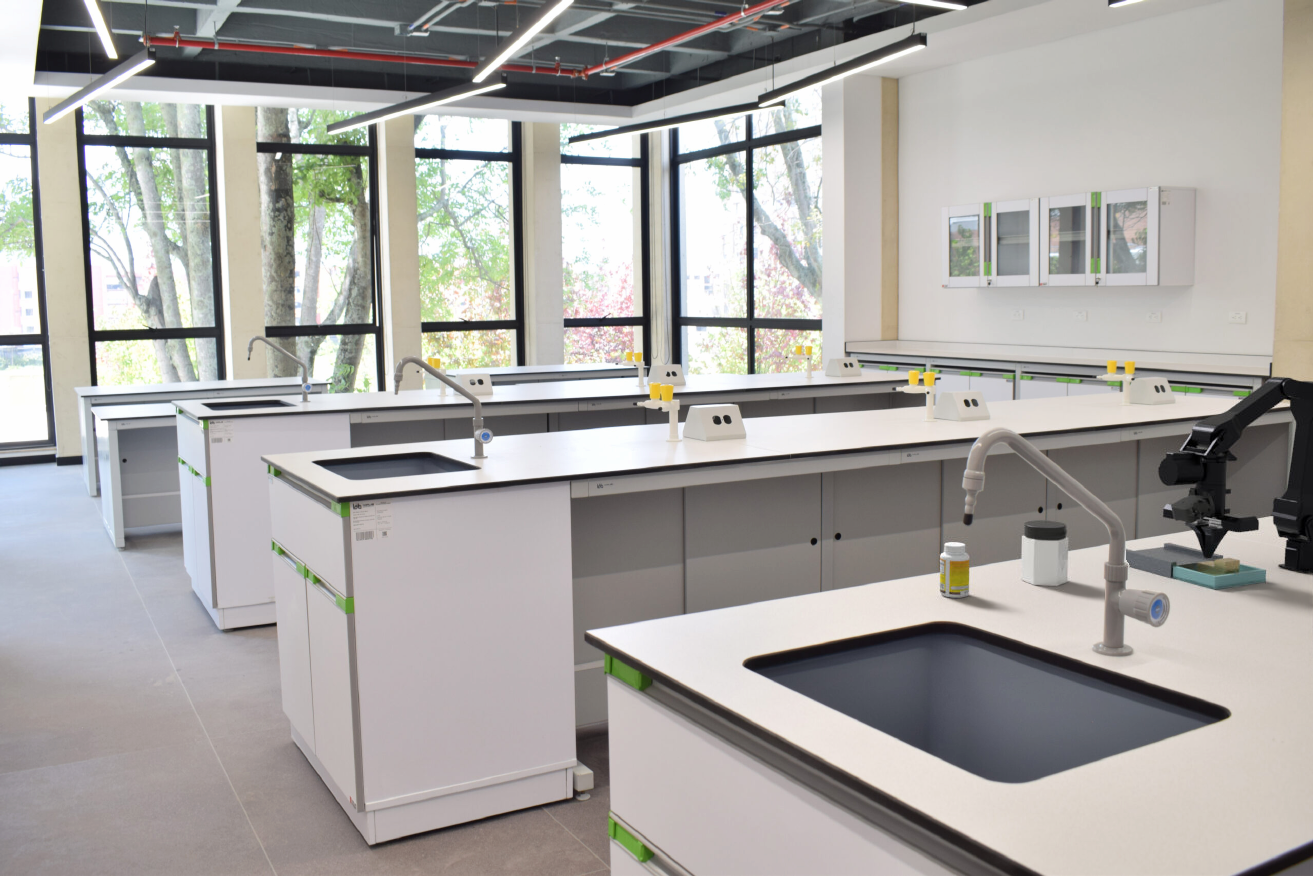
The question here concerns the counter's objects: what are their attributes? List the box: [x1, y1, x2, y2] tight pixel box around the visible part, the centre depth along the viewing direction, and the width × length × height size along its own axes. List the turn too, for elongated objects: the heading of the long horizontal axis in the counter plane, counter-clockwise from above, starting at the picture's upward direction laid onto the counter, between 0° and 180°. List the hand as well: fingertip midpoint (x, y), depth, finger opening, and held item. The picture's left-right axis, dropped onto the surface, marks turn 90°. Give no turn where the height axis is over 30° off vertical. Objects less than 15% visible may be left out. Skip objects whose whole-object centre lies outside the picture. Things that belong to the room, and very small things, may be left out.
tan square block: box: [1197, 561, 1214, 576], centre depth 214 cm, size 4×4×2 cm
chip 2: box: [1214, 557, 1241, 576], centre depth 211 cm, size 4×4×2 cm
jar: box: [1020, 519, 1069, 587], centre depth 214 cm, size 9×8×12 cm
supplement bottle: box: [939, 541, 970, 599], centre depth 205 cm, size 6×6×10 cm
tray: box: [1172, 563, 1267, 591], centre depth 213 cm, size 14×10×2 cm
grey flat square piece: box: [1125, 542, 1224, 579], centre depth 224 cm, size 14×14×3 cm
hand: (1207, 558), depth 215 cm, fingers closed
